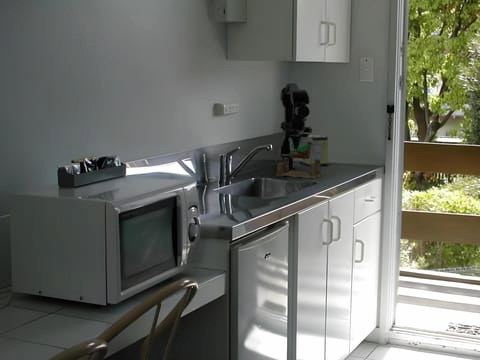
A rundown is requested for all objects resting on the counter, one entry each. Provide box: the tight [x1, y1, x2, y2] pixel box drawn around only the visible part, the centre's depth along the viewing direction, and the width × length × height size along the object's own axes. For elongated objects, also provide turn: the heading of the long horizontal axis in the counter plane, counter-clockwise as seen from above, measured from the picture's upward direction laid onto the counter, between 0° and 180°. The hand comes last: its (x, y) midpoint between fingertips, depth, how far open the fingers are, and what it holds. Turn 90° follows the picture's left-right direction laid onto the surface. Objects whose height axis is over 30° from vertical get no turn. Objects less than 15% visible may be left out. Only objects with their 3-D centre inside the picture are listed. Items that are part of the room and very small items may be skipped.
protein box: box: [299, 134, 329, 168], centre depth 391 cm, size 10×16×16 cm
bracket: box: [275, 157, 322, 179], centre depth 351 cm, size 10×19×8 cm, turn 62°
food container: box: [289, 137, 313, 159], centre depth 349 cm, size 12×6×10 cm, turn 62°
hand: (298, 149), depth 349 cm, fingers closed on food container, 6 cm apart
